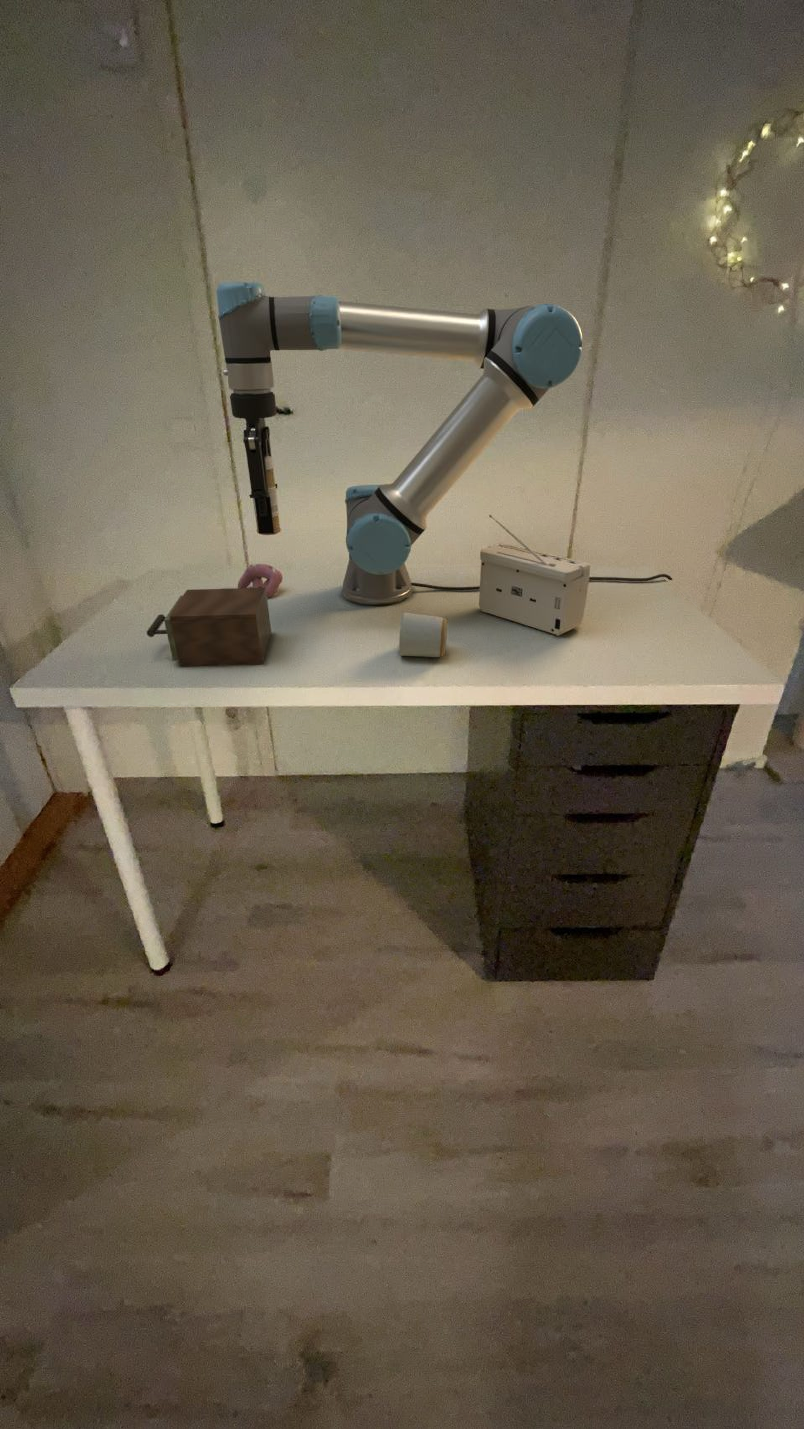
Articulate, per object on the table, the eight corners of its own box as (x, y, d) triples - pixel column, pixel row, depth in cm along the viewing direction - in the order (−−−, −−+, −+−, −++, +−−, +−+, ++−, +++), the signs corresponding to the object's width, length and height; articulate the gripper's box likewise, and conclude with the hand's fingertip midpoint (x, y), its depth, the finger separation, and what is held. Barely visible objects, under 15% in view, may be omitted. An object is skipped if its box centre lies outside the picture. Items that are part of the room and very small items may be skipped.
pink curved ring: (281, 600, 146) (287, 569, 145) (267, 597, 142) (274, 565, 141) (248, 592, 150) (254, 562, 149) (234, 589, 146) (240, 558, 145)
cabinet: (179, 666, 116) (169, 616, 110) (195, 636, 126) (186, 589, 121) (262, 664, 116) (255, 613, 111) (271, 634, 127) (265, 587, 122)
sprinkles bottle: (275, 527, 126) (266, 453, 119) (285, 533, 122) (276, 457, 115) (252, 531, 124) (242, 456, 117) (262, 537, 120) (252, 460, 113)
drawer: (148, 661, 115) (138, 620, 111) (165, 634, 125) (157, 596, 121) (249, 658, 116) (243, 617, 112) (258, 631, 126) (253, 593, 122)
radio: (583, 627, 128) (598, 525, 117) (561, 640, 123) (575, 534, 112) (496, 601, 140) (503, 506, 130) (473, 612, 135) (477, 514, 124)
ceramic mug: (444, 664, 115) (445, 624, 111) (398, 662, 116) (398, 622, 112) (447, 640, 124) (449, 601, 120) (405, 638, 125) (404, 600, 121)
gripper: (238, 387, 118) (255, 517, 130) (219, 397, 103) (240, 543, 115) (280, 386, 118) (293, 516, 130) (267, 396, 103) (283, 542, 115)
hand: (268, 528), depth 123 cm, fingers closed on sprinkles bottle, 4 cm apart
